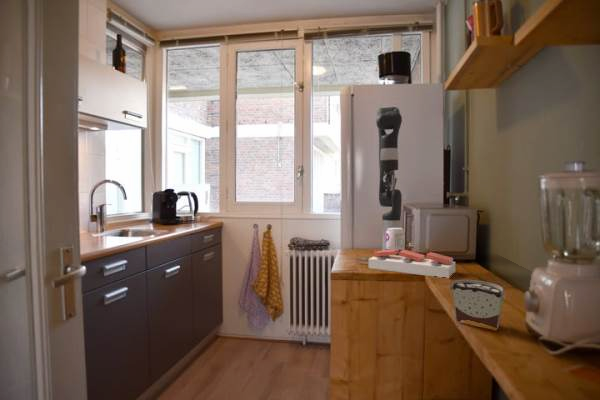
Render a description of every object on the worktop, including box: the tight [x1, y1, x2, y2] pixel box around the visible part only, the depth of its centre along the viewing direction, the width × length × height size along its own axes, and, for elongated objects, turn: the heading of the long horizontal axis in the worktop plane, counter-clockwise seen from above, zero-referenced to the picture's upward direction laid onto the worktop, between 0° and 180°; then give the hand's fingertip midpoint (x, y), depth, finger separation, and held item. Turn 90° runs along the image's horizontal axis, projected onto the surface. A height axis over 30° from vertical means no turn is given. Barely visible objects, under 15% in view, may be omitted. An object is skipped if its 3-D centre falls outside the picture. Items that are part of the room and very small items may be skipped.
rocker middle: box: [399, 249, 426, 261], centre depth 144 cm, size 6×9×2 cm, turn 55°
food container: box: [449, 279, 507, 329], centre depth 86 cm, size 12×6×10 cm, turn 48°
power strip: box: [356, 255, 456, 279], centre depth 145 cm, size 12×40×5 cm, turn 55°
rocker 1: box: [373, 249, 399, 257], centre depth 150 cm, size 6×9×2 cm, turn 55°
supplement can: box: [386, 227, 405, 257], centre depth 163 cm, size 8×8×15 cm
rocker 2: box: [425, 251, 454, 265], centre depth 138 cm, size 6×9×2 cm, turn 55°
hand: (389, 199), depth 150 cm, fingers closed
